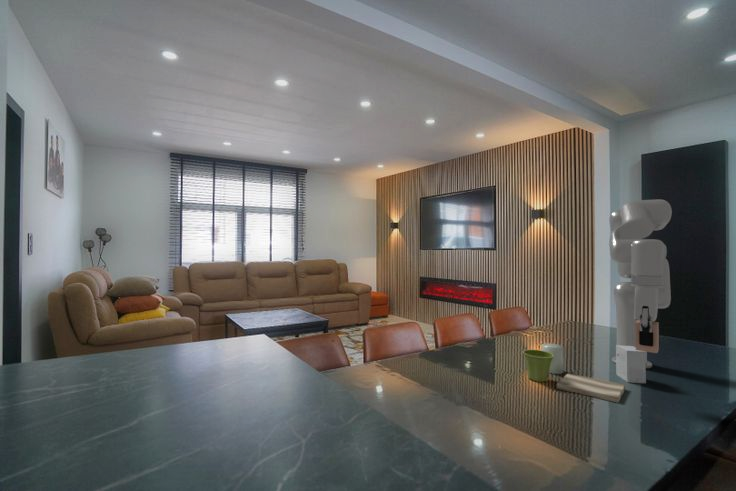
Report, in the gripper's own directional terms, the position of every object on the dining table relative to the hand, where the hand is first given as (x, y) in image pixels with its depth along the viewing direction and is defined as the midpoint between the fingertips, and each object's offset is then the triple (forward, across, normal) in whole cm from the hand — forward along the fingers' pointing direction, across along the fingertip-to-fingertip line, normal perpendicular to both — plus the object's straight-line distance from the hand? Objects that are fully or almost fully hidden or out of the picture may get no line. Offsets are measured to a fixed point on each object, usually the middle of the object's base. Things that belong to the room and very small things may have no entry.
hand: (647, 342), depth 107 cm
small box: (+17, -17, -6) cm, 25 cm away
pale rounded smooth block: (+17, -8, -28) cm, 33 cm away
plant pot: (+17, +5, -29) cm, 34 cm away
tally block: (+2, 0, 0) cm, 2 cm away
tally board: (+16, +3, -14) cm, 22 cm away
